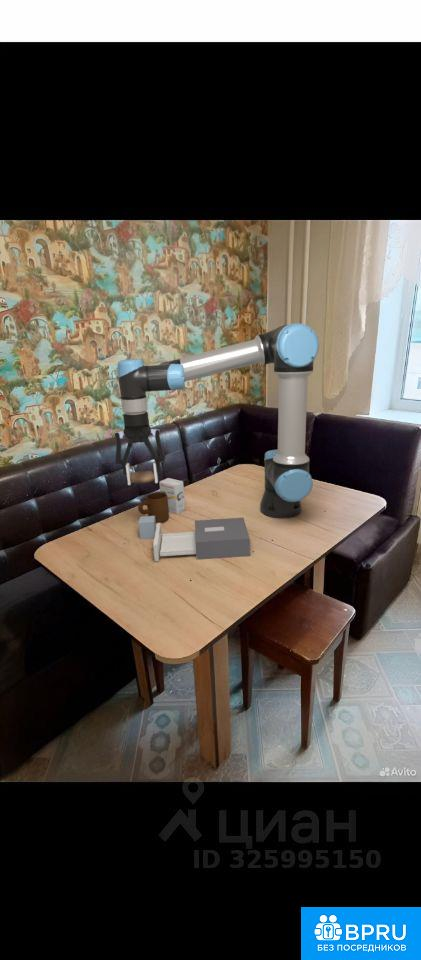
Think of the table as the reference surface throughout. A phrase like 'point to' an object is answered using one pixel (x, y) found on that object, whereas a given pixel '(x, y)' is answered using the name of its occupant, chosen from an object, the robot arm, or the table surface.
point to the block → (147, 527)
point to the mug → (156, 507)
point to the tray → (173, 543)
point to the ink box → (173, 494)
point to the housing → (221, 538)
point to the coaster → (142, 477)
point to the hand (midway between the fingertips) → (143, 482)
